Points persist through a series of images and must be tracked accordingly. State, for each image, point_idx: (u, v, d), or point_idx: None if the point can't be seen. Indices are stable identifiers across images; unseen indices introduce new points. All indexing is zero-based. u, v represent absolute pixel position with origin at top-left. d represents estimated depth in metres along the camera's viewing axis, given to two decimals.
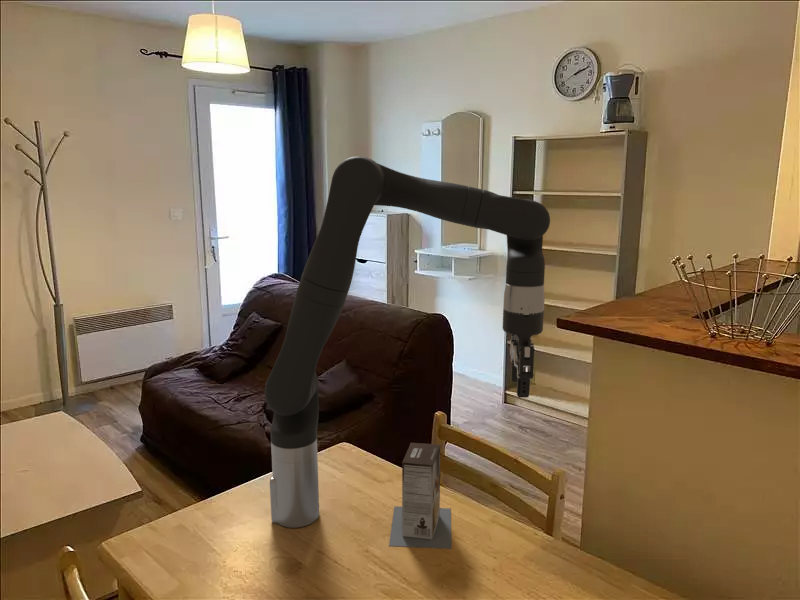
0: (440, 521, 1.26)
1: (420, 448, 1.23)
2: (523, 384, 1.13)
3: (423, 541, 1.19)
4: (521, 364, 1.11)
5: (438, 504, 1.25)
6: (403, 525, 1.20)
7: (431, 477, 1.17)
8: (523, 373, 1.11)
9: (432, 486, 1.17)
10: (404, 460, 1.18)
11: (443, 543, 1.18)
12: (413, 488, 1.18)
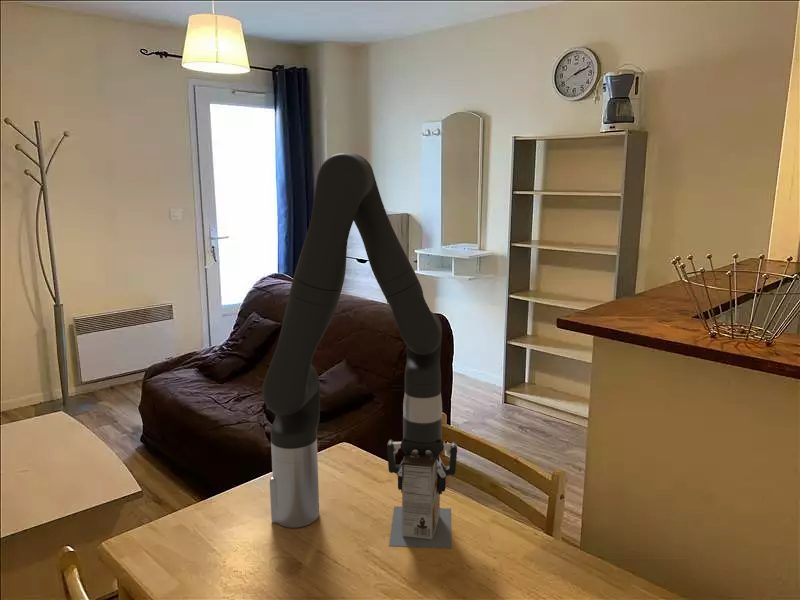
0: (440, 521, 1.26)
1: None
2: None
3: (423, 541, 1.19)
4: None
5: (438, 504, 1.25)
6: (403, 525, 1.20)
7: (431, 477, 1.17)
8: None
9: (432, 486, 1.17)
10: (404, 460, 1.18)
11: (443, 543, 1.18)
12: (413, 488, 1.18)
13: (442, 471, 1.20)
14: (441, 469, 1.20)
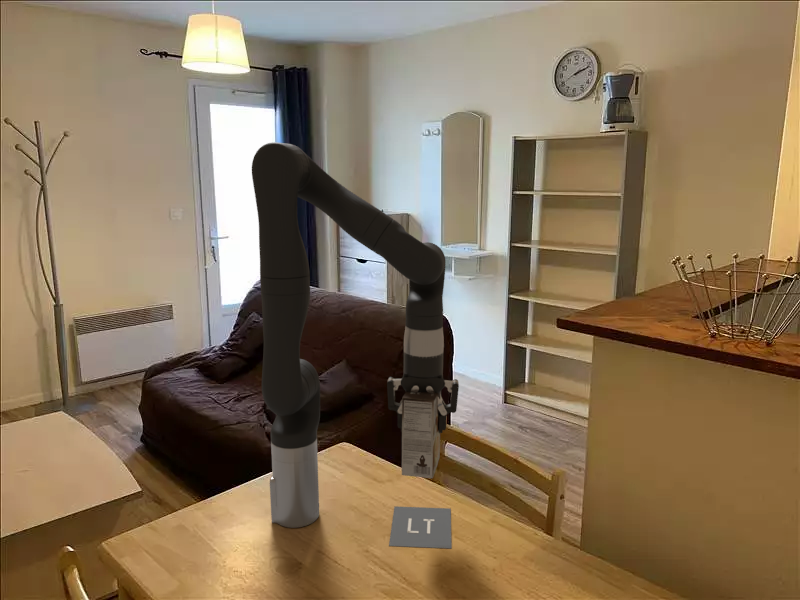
0: (440, 521, 1.26)
1: None
2: None
3: (423, 541, 1.19)
4: None
5: (438, 445, 1.22)
6: (402, 463, 1.17)
7: (432, 413, 1.14)
8: None
9: (433, 422, 1.14)
10: (404, 396, 1.15)
11: (443, 543, 1.18)
12: (413, 425, 1.15)
13: (443, 408, 1.17)
14: (442, 406, 1.17)
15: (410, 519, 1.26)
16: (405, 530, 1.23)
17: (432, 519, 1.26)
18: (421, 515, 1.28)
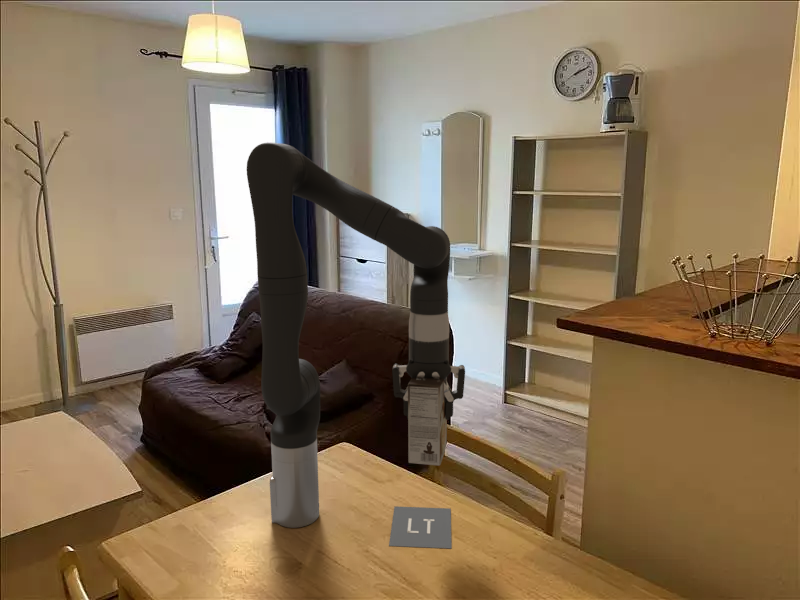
0: (440, 521, 1.26)
1: None
2: None
3: (423, 541, 1.19)
4: (463, 385, 1.15)
5: (445, 432, 1.20)
6: (409, 451, 1.16)
7: (438, 399, 1.12)
8: None
9: (439, 408, 1.13)
10: (410, 382, 1.13)
11: (443, 543, 1.18)
12: (420, 411, 1.13)
13: (449, 395, 1.16)
14: (448, 392, 1.16)
15: (410, 519, 1.26)
16: (405, 530, 1.23)
17: (432, 519, 1.26)
18: (421, 515, 1.28)
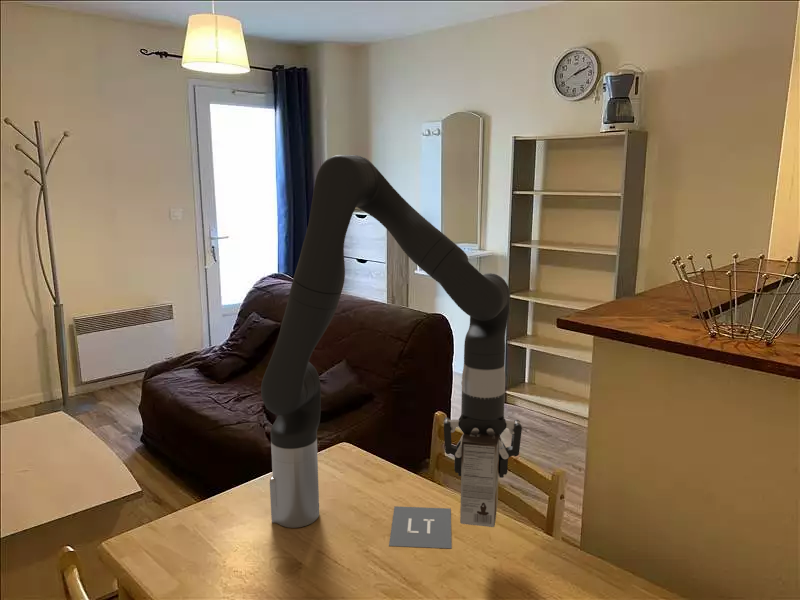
0: (440, 521, 1.26)
1: None
2: None
3: (423, 541, 1.19)
4: None
5: None
6: (461, 511, 1.09)
7: (494, 458, 1.05)
8: None
9: (495, 468, 1.06)
10: (464, 439, 1.06)
11: (443, 543, 1.18)
12: (474, 470, 1.06)
13: (504, 452, 1.09)
14: (503, 450, 1.09)
15: (410, 519, 1.26)
16: (405, 530, 1.23)
17: (432, 519, 1.26)
18: (421, 515, 1.28)
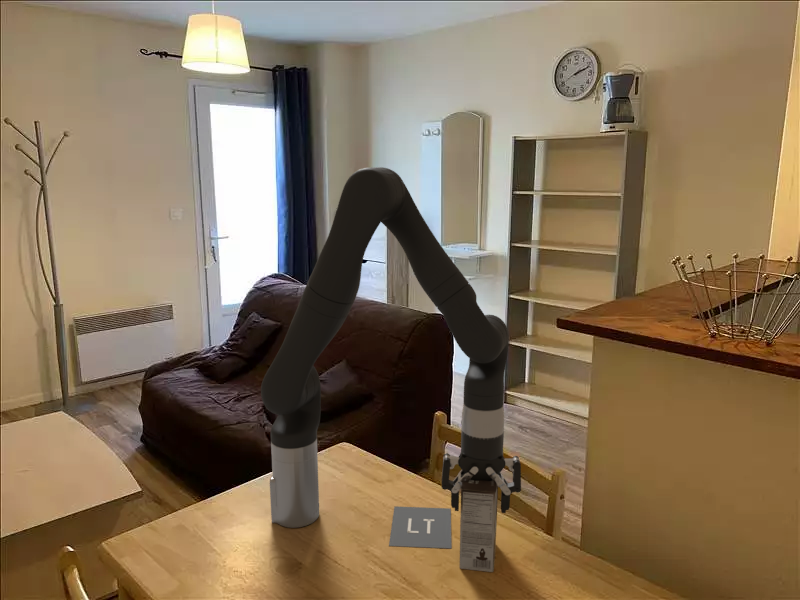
0: (440, 521, 1.26)
1: None
2: None
3: (423, 541, 1.19)
4: (520, 477, 1.10)
5: None
6: (461, 557, 1.11)
7: (493, 505, 1.07)
8: None
9: (494, 515, 1.08)
10: (463, 487, 1.08)
11: (443, 543, 1.18)
12: (473, 517, 1.08)
13: (507, 488, 1.10)
14: (506, 486, 1.10)
15: (410, 519, 1.26)
16: (405, 530, 1.23)
17: (432, 519, 1.26)
18: (421, 515, 1.28)
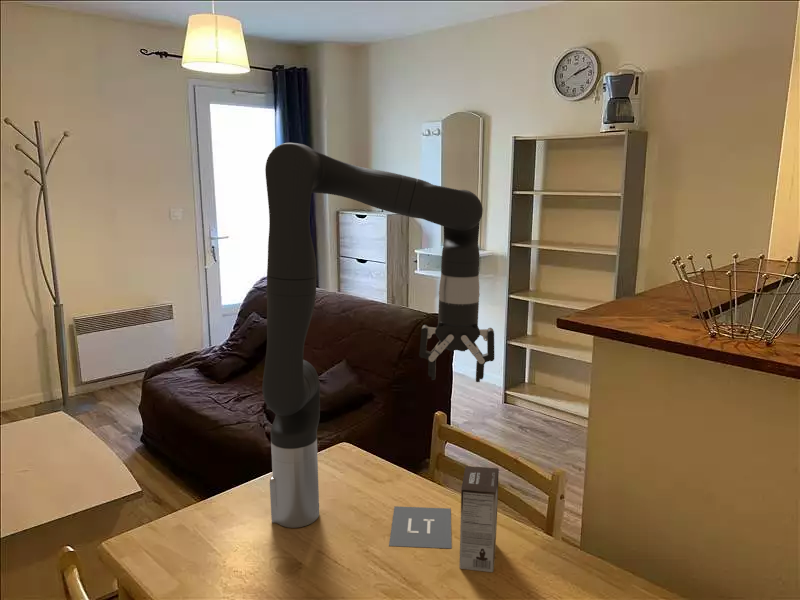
0: (440, 521, 1.26)
1: (478, 472, 1.13)
2: None
3: (423, 541, 1.19)
4: None
5: None
6: (461, 557, 1.11)
7: (493, 505, 1.07)
8: None
9: (494, 515, 1.08)
10: (463, 487, 1.08)
11: (443, 543, 1.18)
12: (473, 517, 1.08)
13: (481, 357, 1.16)
14: (480, 355, 1.16)
15: (410, 519, 1.26)
16: (405, 530, 1.23)
17: (432, 519, 1.26)
18: (421, 515, 1.28)
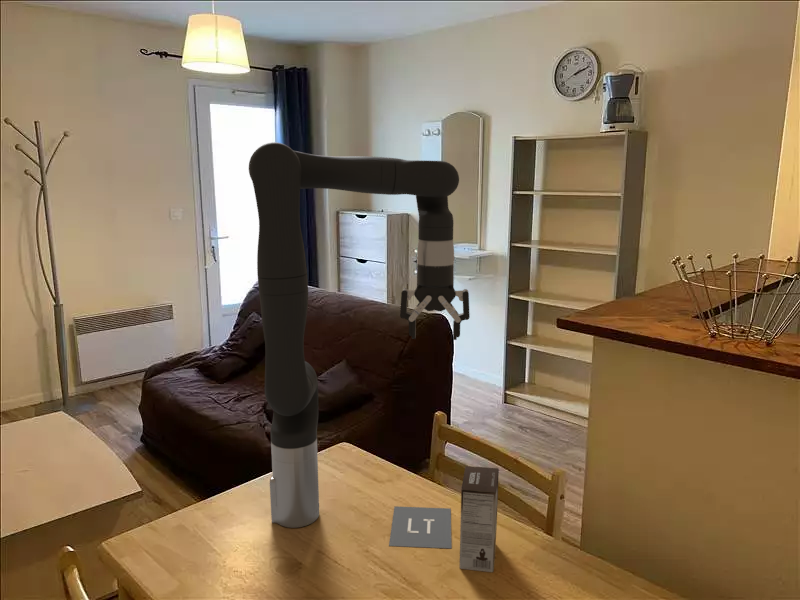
0: (440, 521, 1.26)
1: (478, 472, 1.13)
2: None
3: (423, 541, 1.19)
4: None
5: None
6: (461, 557, 1.11)
7: (493, 505, 1.07)
8: None
9: (494, 515, 1.08)
10: (463, 487, 1.08)
11: (443, 543, 1.18)
12: (473, 517, 1.08)
13: (457, 316, 1.26)
14: (456, 314, 1.25)
15: (410, 519, 1.26)
16: (405, 530, 1.23)
17: (432, 519, 1.26)
18: (421, 515, 1.28)
